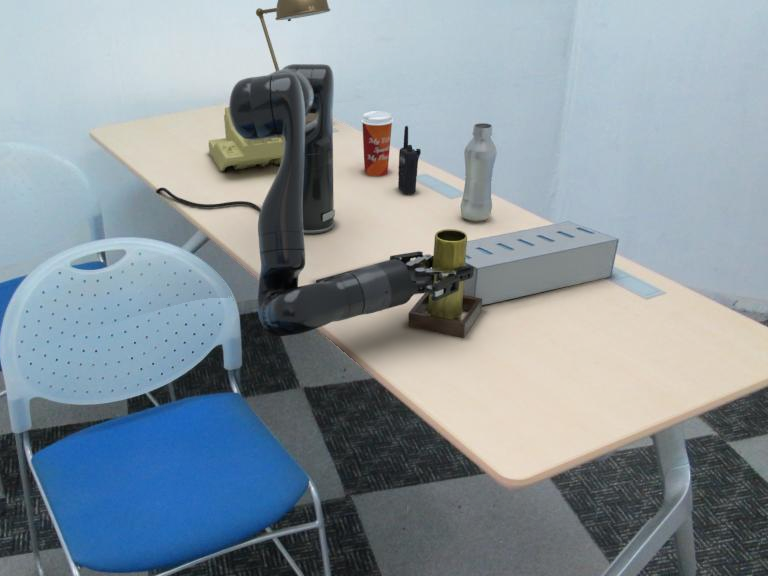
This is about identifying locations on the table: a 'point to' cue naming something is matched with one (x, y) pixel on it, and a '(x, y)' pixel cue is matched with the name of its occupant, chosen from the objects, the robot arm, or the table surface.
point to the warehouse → (537, 261)
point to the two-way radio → (408, 166)
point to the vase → (448, 257)
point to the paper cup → (376, 142)
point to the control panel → (244, 149)
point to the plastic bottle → (478, 174)
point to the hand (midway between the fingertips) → (460, 264)
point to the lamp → (290, 5)
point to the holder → (444, 324)
